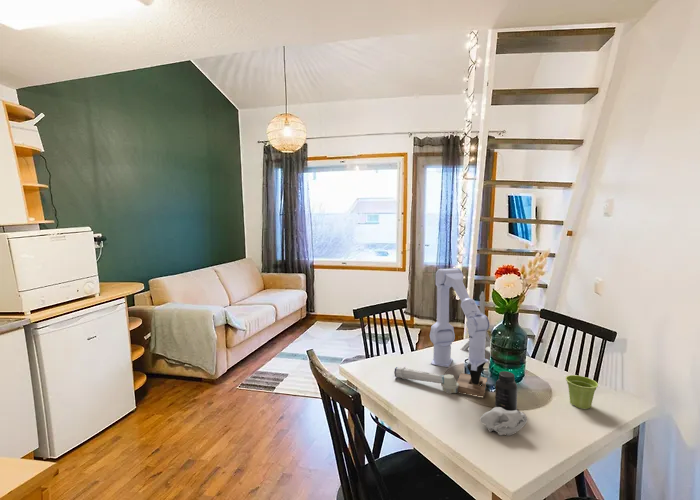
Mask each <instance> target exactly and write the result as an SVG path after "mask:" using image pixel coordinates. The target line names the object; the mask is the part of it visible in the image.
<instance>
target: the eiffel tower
mask: <svg viewBox="0 0 700 500" xmlns="http://www.w3.org/2000/svg"><path fill="white" fill-rule="evenodd" d="M485 300H486V295H485V293H484V291H481V293H480V294H479V310H480V312H481V313H483V314H484V315H486V314H485V313H486V312H485V311H486V310H485ZM490 339H491V337H490V334H489V332H488V330H486V338H485V349H486V348H488V347H489V348H490ZM460 350H461V351H462V352H469V340H468V341H467V342H466V343H465V344H464V345H463V346H462V347H461V348H460Z"/></svg>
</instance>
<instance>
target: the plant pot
mask: <svg viewBox="0 0 700 500" xmlns="http://www.w3.org/2000/svg"><path fill="white" fill-rule="evenodd" d="M565 381H566V383H567V387H568V395H569V403H570V404H571V405H572V406H575V407H576V408H578V409H582V410H589V409H592V404H593V399H594V395H595V391H596V390H597V388H598V387H599V383H598V382H597V381H596V380H594V379H592V378H589V377H586V376H583V375H577V374H573V375H572V374H570V375H567V376H566V377H565Z"/></svg>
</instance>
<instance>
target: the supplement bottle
mask: <svg viewBox="0 0 700 500" xmlns="http://www.w3.org/2000/svg"><path fill="white" fill-rule="evenodd" d="M494 397H495V398H494V399H495V407H501V408H503V409H505V410H507V411H514V410H518V408H517V407H518V384H517V382H516V381H515V374H514V373H512V371H511V372H510V371H504V370H502V371H499V373H498V379H497V380H496V381H495V396H494Z"/></svg>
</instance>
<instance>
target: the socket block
mask: <svg viewBox="0 0 700 500" xmlns="http://www.w3.org/2000/svg"><path fill="white" fill-rule="evenodd" d="M456 382H458V384H459V387H458V392H460V393H459V394H463V393H466V394H465V395H467V394H472V395H477V396H483V397H484V398H485V394H486V391H485V388H486V389H487V387H486V382H487V383H488V377H483V376H481V380H480V385H481V384H482V386H477V385H472V382H471V375H470V373H463V372H460V374H459V377H458V379H457V381H456ZM458 392H457V393H458ZM484 393H485V394H484Z"/></svg>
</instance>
